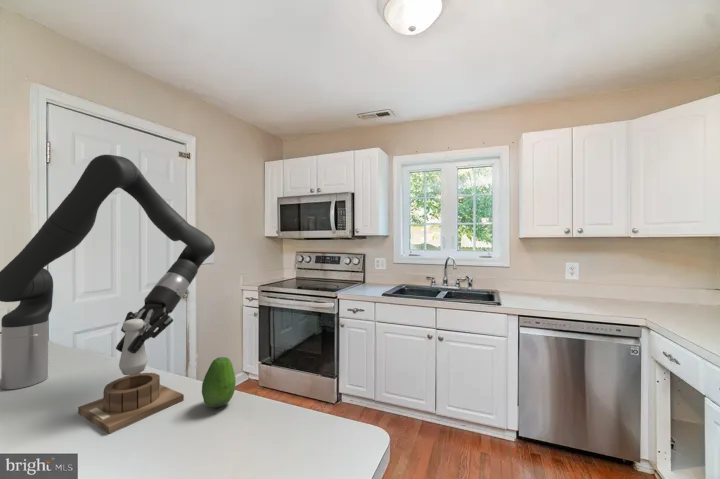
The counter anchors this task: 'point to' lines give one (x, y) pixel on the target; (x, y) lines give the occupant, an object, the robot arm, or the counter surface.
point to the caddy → (129, 401)
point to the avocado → (219, 383)
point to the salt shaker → (128, 360)
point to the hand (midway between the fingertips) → (125, 351)
